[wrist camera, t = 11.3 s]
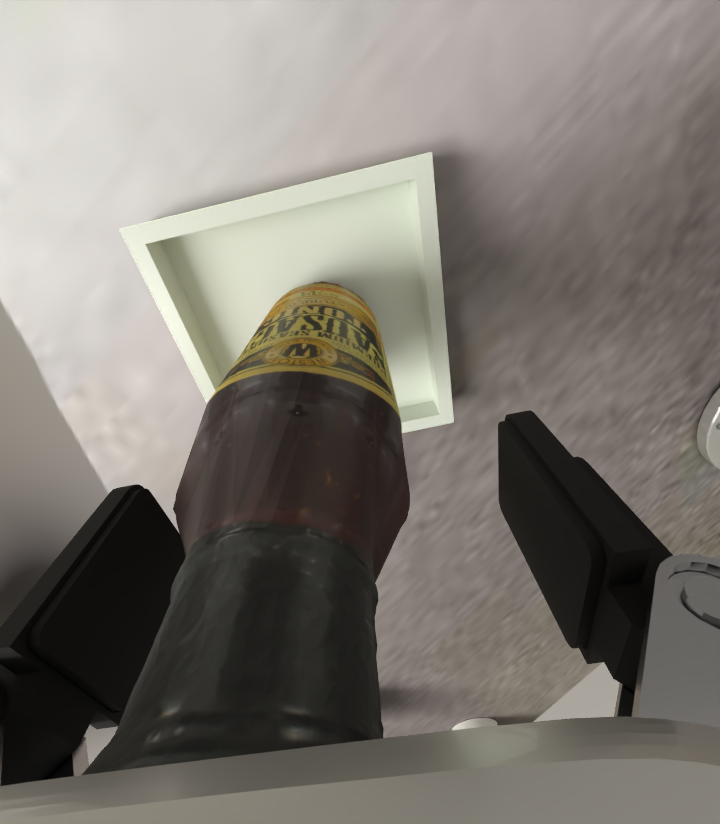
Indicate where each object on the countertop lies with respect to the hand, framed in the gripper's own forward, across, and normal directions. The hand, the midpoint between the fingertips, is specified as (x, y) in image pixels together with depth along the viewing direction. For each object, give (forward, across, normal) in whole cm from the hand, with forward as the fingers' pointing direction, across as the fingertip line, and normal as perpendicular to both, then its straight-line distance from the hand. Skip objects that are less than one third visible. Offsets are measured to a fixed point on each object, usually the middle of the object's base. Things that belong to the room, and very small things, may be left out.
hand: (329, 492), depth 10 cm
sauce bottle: (+13, +1, 0) cm, 13 cm away
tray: (+14, +1, 0) cm, 14 cm away
